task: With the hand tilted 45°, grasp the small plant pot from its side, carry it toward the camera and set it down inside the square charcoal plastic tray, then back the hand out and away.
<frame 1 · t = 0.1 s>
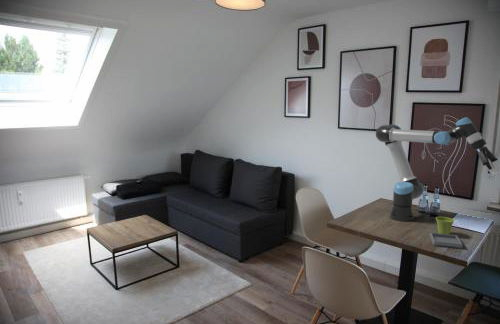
hand: (497, 172, 198), 36 cm above the table, tool tilted 35°, fingers open, 13 cm apart
plant pot: (443, 233, 202), on the table
tray: (445, 242, 188), on the table
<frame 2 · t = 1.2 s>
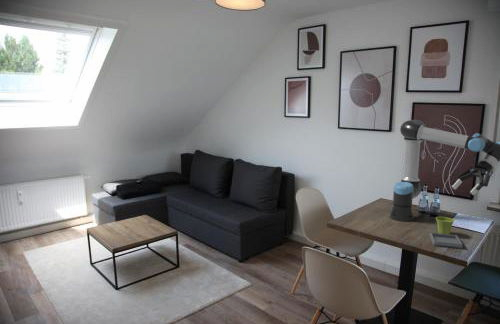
hand: (462, 190, 200), 25 cm above the table, tool tilted 45°, fingers open, 13 cm apart
nothing on the table moved.
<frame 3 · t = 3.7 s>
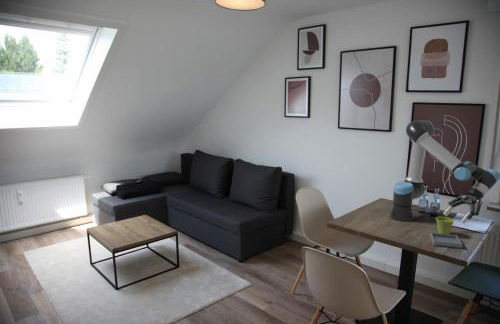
hand: (453, 218, 200), 9 cm above the table, tool tilted 45°, fingers open, 13 cm apart
nothing on the table moved.
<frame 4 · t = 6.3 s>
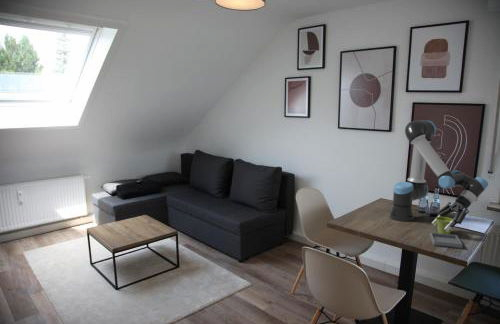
hand: (439, 227, 200), 4 cm above the table, tool tilted 45°, fingers closed on plant pot, 9 cm apart
plant pot: (443, 233, 202), on the table, touching gripper
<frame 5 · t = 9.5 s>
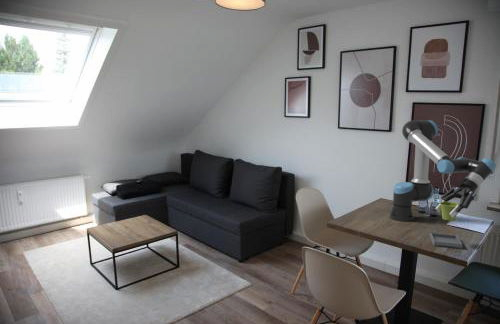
hand: (443, 212, 185), 17 cm above the table, tool tilted 45°, fingers closed on plant pot, 9 cm apart
plant pot: (448, 219, 186), point 13 cm above the table, touching gripper
when the fingers open (6 cm above the table, at t = 12.6 s): plant pot drops 1 cm, resting on tray.
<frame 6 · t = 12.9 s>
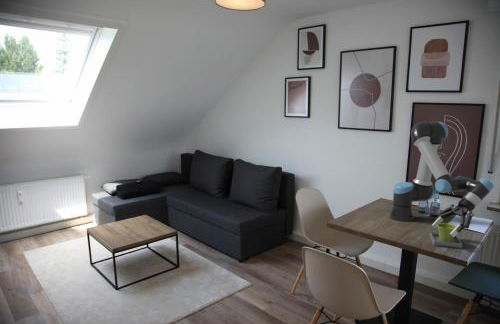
hand: (442, 230, 186), 7 cm above the table, tool tilted 45°, fingers open, 13 cm apart
plant pot: (445, 241, 188), point 1 cm above the table, touching tray
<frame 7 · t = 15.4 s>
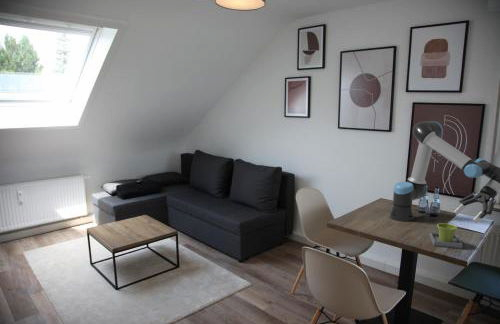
hand: (464, 217, 191), 12 cm above the table, tool tilted 45°, fingers open, 13 cm apart
nothing on the table moved.
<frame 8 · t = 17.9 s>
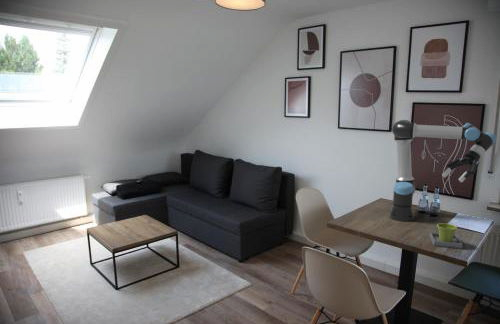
hand: (451, 178, 211), 30 cm above the table, tool tilted 45°, fingers open, 13 cm apart
nothing on the table moved.
at the end: plant pot 0.1 cm off-centre on the tray, point 0.6 cm above the tray's base; plant pot tilted 0°; the gripper is holding nothing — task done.
